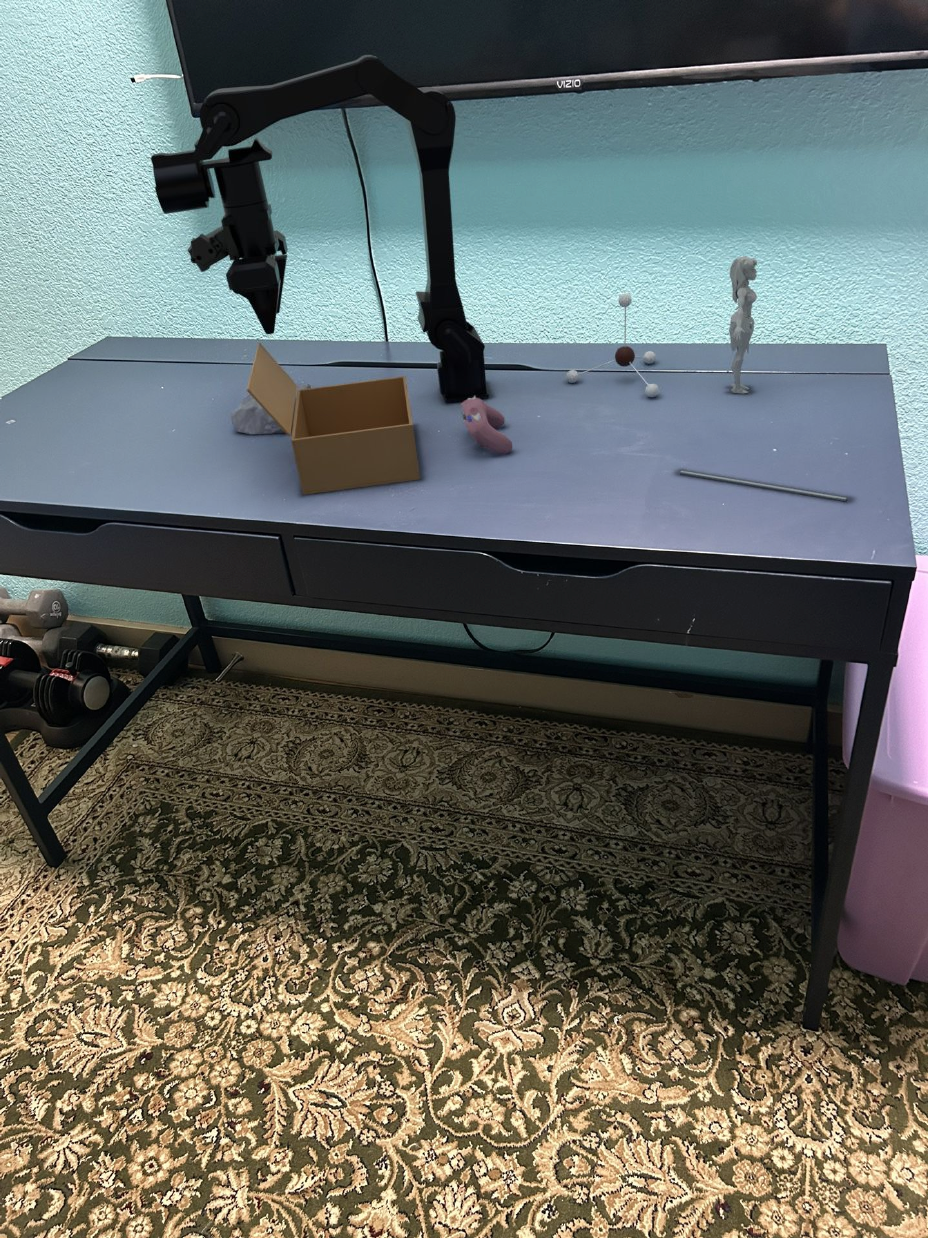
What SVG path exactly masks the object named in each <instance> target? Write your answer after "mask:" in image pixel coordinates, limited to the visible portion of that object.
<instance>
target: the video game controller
mask: <svg viewBox="0 0 928 1238" xmlns="http://www.w3.org/2000/svg"><path fill="white" fill-rule="evenodd" d="M460 406H461V408H462V411H463V412H461V415H460V416H461V418H462V419H463V420H464V425H465V427H466V429H467V431H468V434H469V435H470V436H471V438H472V439H473V441H474V442H475V443H476V444H477V445H480V447H481V448H482V449H487V450H489V451H492V452H494V453H497V454H504V455H505V454H509V453H510V452H512V450H513V442H512V440H511V439H510V438H509V437H508V436H507V435H505V434H503V433H502V432H500V431H498V430H497V429H500V428H502V427H504V425H505V422H506V421H505V416H504V415H503V414H502V413H501V412H500V411H499V410H497V409H496V408H494V407H492V406H490V405H489V404H487V403H485V402H484V400H482V398H476V396H474V397H473V398H468V399H467V400H463V401H462V402H461V403H460ZM496 428H497V429H496Z"/></svg>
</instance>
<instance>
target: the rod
mask: <svg viewBox="0 0 928 1238" xmlns="http://www.w3.org/2000/svg"><path fill="white" fill-rule="evenodd" d="M679 475H680V476H685V477H690V478H696V479H703V480H709V481H715V482H721V483H727V484H732V485H733V484H734V485H738V486H745V487H751V488H757V489H763V490H764V489H765V490H768V491H776V492H781V493H788V494H794V495H799V496H800V495H801V496H806V497H811V498H817V499H823V500H830V501H837V502H843V503H846V502H848V501H849V499H848V496H842V495H837V494H830V493H825V492H819V491H813V490H806V489H800V488H794V487H788V486H781V485H778V484H777V485H776V484H770V483H764V482H759V481H752V480H745V479H740V478H733V477H728V476H722V475H715V474H710V473H705V472H704V473H703V472H698V471H692V470H685V469H681V470H680V473H679Z"/></svg>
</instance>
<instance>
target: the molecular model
mask: <svg viewBox="0 0 928 1238" xmlns="http://www.w3.org/2000/svg"><path fill="white" fill-rule="evenodd" d="M632 301H633V300H632V296H631V295H630V294H629V293H622V294H621V295H620V296H619V297H618V301H617V302H618V305H619V306H620V307H622V308H624V345H623V346H621V347H618V349H617V350H616V352H615V354H614V359H613V360H610V361H608V362H605V363H603V364H600V365H597V366H595V367H593V368H590V369H587V370H585V371H582V372H577V370H575V369H571V370H569V371H568V372H566V377H565V378H566V380H567V382H569V383H573V384H574V383H577V381H578V380H579V376H580V375H583V374H585V373H588V372H590V371H594V370H596V369H598V368H601V367H603V366H606V365H609V364H611V363H613V362H616V364H617V365H618V366H620V367H629V366H631V367H632V368H633V369H634V371H635V372H636V373H637V374H638V376H639V377H640V378H641V379H642V381H643V382H644V383H645V385H647V386H646V387H645V394H646V395H647V397H650V398H654V397H656V396H657V395H658V394H659V391H660V389H659V386H658V385H657V384H656V383H648V382H647V380H645V378H644V377H643V376H642V374H640V372H639V371H638V370H637V369H636V367H635V366H634V365H633V363H634V361H635V359H643V361H644V362H645V364H649V365H650V364H653V363H654V362H655V361H656V357H657V356H656V353H654V352H653V351H646V352H644V354H643V356H636V353H635V351H634V349H633V348H631V347H630V346H627V344H626V341H627V339H626V338H627V308H628V307H629V306H631V304H632Z"/></svg>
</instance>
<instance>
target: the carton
mask: <svg viewBox="0 0 928 1238" xmlns="http://www.w3.org/2000/svg"><path fill="white" fill-rule="evenodd" d="M414 430H415V429H414V424H413V418H412V410H411V404H410V397H409V389H408V384H407V377H406V375H403V376H395V377H386V378H378V379H371V380H363V381H355V382H348V383H340V384H332V385H323V386H317V387H311V388H308V389H301V390H297V397H296V405H295V413H294V421H293V427H292V429H291V437H290V442H291V447H292V451H293V456H294V460H295V464H296V469H297V475H298V479H299V484H300V488H301V491H302V495H303V496H305V495H312V494H320V493H327V492H329V493H330V492H336V491H343V490H350V489H351V490H352V489H357V488H366V487H367V488H368V487H374V486H380V485H389V484H395V483H397V484H398V483H403V482H411V481H418V480H421V477H420V468H419V462H418V454H417V446H416V445H417V444H416V438H415V431H414Z"/></svg>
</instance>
